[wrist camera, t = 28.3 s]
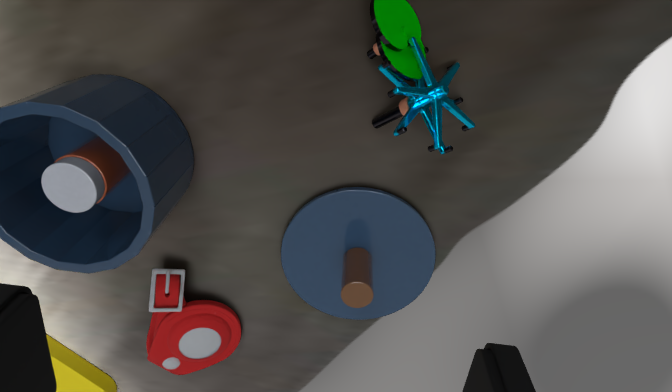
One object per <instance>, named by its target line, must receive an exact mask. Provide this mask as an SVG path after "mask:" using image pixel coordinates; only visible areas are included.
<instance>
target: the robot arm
mask: <svg viewBox="0 0 672 392" xmlns="http://www.w3.org/2000/svg"><path fill="white" fill-rule="evenodd" d="M56 389H57V383H56V378H55V374H54V369H53V364H52V360H51V355H50V350H49V346H48V341H47V337H46V332H45V327H44V323H43V318H42V313H41V309H40V304H39V300H38V297H37V296H36V295H33V294H32V292H31V290H30V289H29V288H28V287H25V286H17V285H9V284H1V283H0V392H56ZM463 392H536V391H535V389H534V386H533V384H532V382H531V379H530V377H529V374H528V372H527V369H526V367H525V364H524V362H523V360H522V357H521V355H520V353H519V350H518V349H517V347H515V346H510V345H502V344H494V343H487V344H486V345H485V348H484V349H477V350H476V352H475V355H474V359H473V361H472V364H471V367H470V370H469V374H468V377H467V380H466V382H465V386H464V389H463Z"/></svg>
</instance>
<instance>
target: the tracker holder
mask: <svg viewBox="0 0 672 392" xmlns="http://www.w3.org/2000/svg"><path fill="white" fill-rule="evenodd" d="M156 274H157V277H156ZM180 274H181V278H180ZM155 280H156V294H155V305H154V308H153V303H154V292H155ZM184 280H185V270H184V269H156V268H154V269H153V270H152V278H151V289H150V300H149V312H153V314H152V319H151V323H150V328H149V332H148V336H147V352H148V357H147V359H148V360H149V361H150V362H152V363H154V364H156V365H158V366H160V367H162V368H163V369H165V370H167V371H169V372H171V373H173V374H177V375H184V374H188V373H191V372H194V371H197V370H201V369H204V368H206V367H209V366H211V365H214V364H216V363H218V362H220V361H222V360H224V359H226V358H227V357H228V356H230V355H231V354H232V353H233V351H234V350H235V349H236V347H237V346H238V344H239V341H240V339H241V324H240V321H239V318H238V316H237V314H236V313H235V312H234V311H233V310H232V309H231V308H230V307H228V306H227V305H225V304H222V303H220V302H216V301H211V300H195V301H191V302H186V301H185V299H184V296H183V292H184Z"/></svg>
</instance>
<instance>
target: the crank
mask: <svg viewBox="0 0 672 392" xmlns="http://www.w3.org/2000/svg"><path fill="white" fill-rule="evenodd" d="M46 337H47V341H48V346H49V350H50V355H51V360H52V364H53V369H54V374H55V378H56V383H57V389H56V392H117V386H116V384H115V382H114V380H113V379H112V378H111V377H110V376H108V375H107V374H105V373H104V372H102V371H101V370H99V369H98V368H96V367H95V366H93V365H92V364H90V363H89V362H87V361H86V360H84V359H83V358H81V357H80V356H78V355H77V354H75V353H74V352H72V351H71V350H69V349H68V348H66V347H65V346H63V345H62V344H60V343H59V342H57V341H56V340H54V339H53V338H51V337H50V336H48V335H47V334H46Z"/></svg>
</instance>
